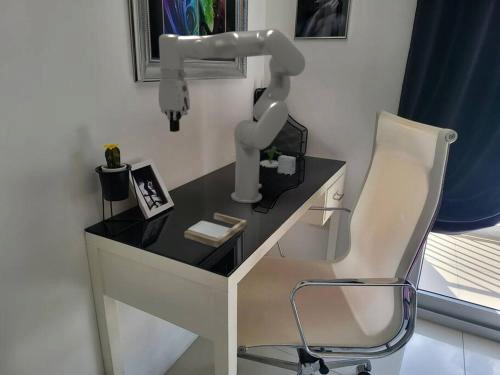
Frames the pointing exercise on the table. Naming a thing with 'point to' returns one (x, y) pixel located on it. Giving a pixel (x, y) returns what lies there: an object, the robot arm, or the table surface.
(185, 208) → the table surface
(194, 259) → the table surface
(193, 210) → the table surface
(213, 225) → the hard drive
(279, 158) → the medicine box
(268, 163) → the potted plant
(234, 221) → the wooden frame
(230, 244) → the table surface
